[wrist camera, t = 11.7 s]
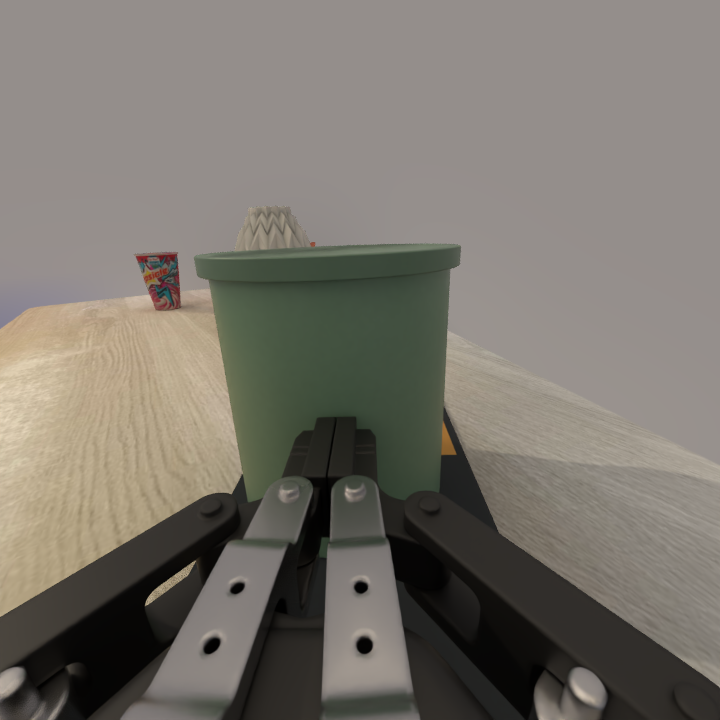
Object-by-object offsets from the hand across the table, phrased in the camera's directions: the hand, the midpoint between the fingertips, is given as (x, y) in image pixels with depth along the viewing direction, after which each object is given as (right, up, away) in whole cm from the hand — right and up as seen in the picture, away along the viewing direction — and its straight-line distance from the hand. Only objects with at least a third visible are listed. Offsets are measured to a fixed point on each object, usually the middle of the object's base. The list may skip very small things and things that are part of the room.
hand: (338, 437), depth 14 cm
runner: (0, -6, +4) cm, 7 cm away
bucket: (0, -4, +7) cm, 8 cm away
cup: (-42, +15, +66) cm, 80 cm away
